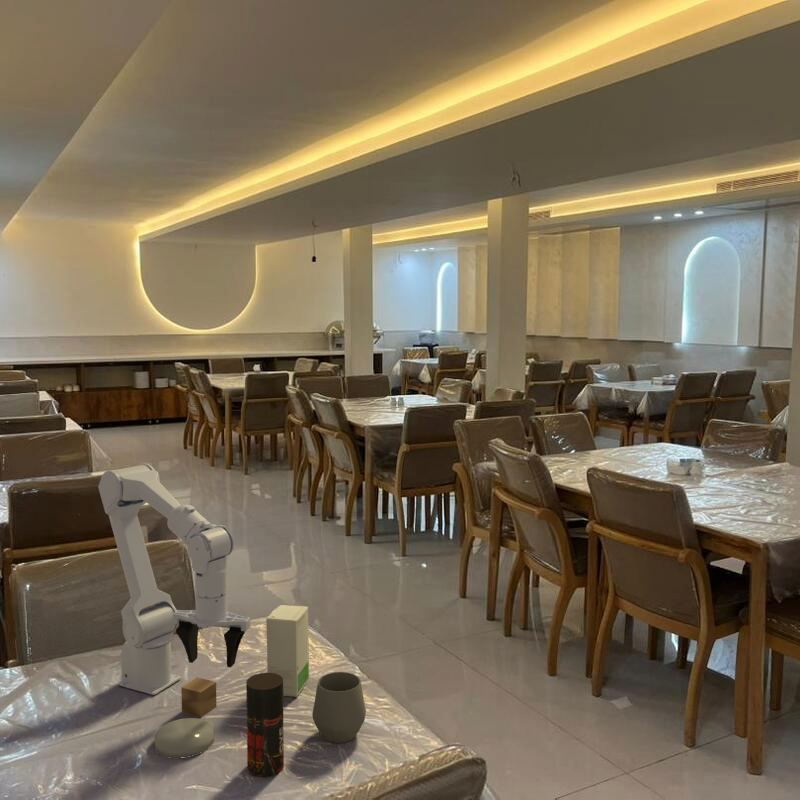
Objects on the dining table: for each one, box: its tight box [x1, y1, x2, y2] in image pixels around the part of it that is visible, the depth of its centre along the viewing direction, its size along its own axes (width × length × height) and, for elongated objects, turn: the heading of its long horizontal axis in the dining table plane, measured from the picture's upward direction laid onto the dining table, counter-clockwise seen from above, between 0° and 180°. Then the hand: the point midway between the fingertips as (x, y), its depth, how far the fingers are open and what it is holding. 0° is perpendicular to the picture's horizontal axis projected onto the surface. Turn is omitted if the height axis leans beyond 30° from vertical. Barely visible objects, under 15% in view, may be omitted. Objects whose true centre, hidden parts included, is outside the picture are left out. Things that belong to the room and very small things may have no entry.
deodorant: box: [245, 672, 285, 779], centre depth 129 cm, size 6×6×15 cm
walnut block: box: [180, 676, 218, 719], centre depth 148 cm, size 4×4×5 cm
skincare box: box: [265, 604, 310, 698], centre depth 157 cm, size 8×7×16 cm
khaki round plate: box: [153, 717, 215, 759], centre depth 137 cm, size 10×10×2 cm
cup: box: [311, 671, 367, 744], centre depth 139 cm, size 10×9×10 cm
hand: (212, 662), depth 147 cm, fingers open, 7 cm apart
